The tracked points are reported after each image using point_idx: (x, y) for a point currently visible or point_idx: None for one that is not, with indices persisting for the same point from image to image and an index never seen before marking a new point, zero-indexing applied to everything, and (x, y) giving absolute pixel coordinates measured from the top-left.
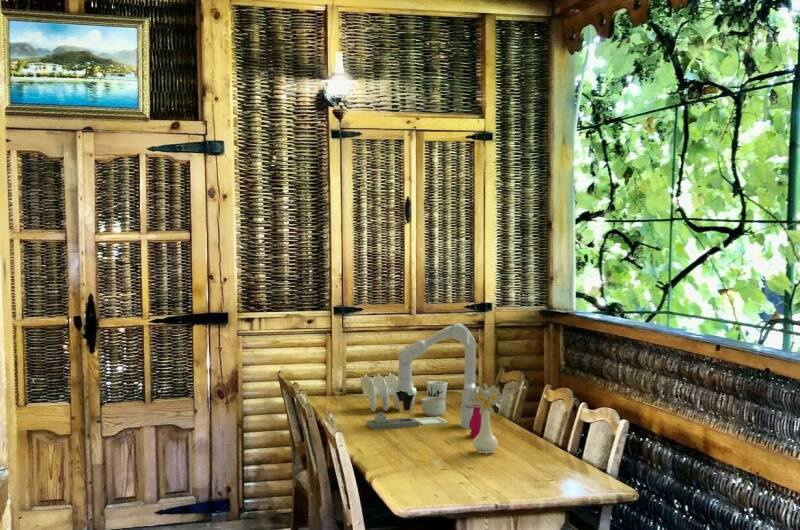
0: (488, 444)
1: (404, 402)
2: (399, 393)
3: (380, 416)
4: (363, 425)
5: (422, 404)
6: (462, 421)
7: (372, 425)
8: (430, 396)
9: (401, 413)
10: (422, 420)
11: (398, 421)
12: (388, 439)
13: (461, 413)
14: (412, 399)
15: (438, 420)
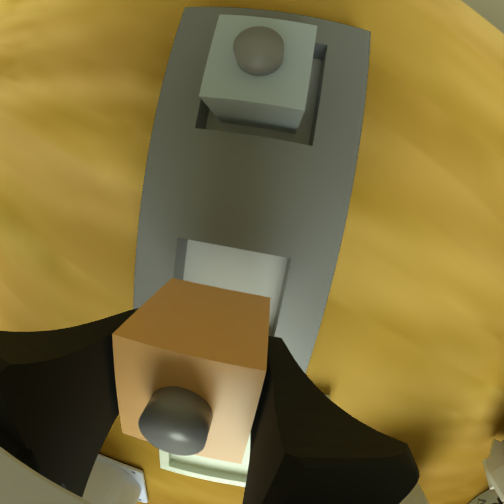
0: None
1: (64, 335)
2: (271, 483)
3: (212, 40)
4: (386, 44)
5: (407, 498)
6: (94, 471)
7: (221, 11)
8: (494, 502)
9: (207, 286)
10: None
11: (204, 227)
12: (16, 64)
13: (89, 495)
14: (493, 474)
15: (247, 472)
